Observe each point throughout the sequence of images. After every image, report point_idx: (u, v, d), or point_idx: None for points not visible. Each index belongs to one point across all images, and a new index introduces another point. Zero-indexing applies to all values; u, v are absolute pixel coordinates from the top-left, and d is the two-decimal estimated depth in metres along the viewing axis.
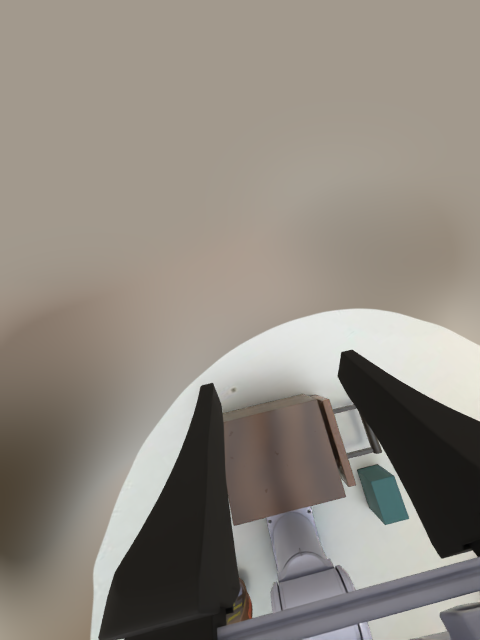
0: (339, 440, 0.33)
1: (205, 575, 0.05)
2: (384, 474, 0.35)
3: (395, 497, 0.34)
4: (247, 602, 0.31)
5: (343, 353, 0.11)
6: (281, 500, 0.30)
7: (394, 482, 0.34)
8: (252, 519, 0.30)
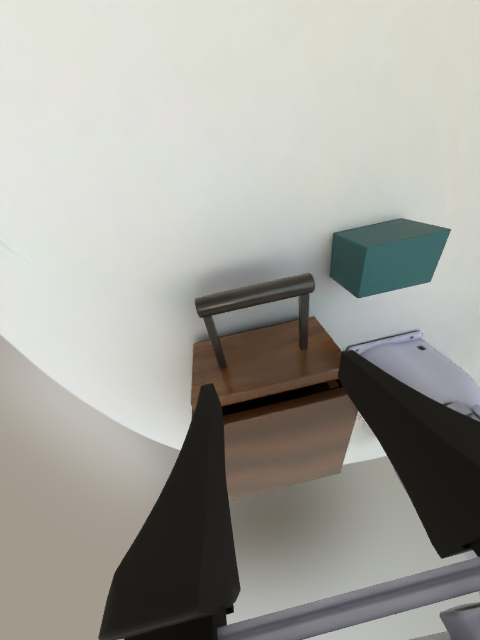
0: (272, 388, 0.16)
1: (205, 575, 0.05)
2: (356, 257, 0.16)
3: (403, 253, 0.15)
4: None
5: (343, 353, 0.11)
6: (333, 449, 0.22)
7: (378, 249, 0.14)
8: (341, 464, 0.24)
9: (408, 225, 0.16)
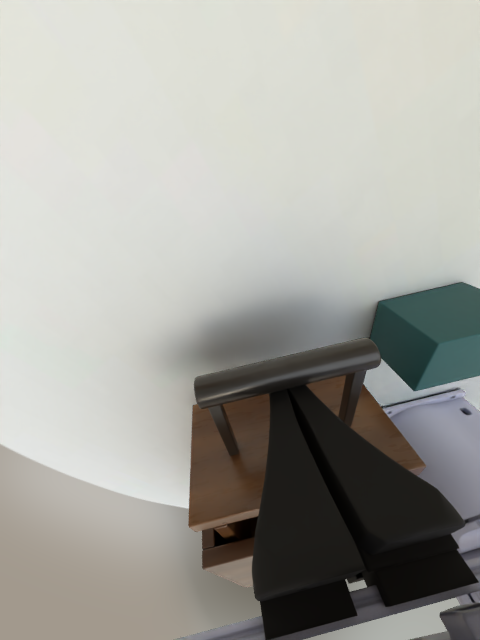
0: None
1: None
2: (416, 345, 0.12)
3: None
4: None
5: None
6: None
7: (452, 344, 0.11)
8: None
9: None
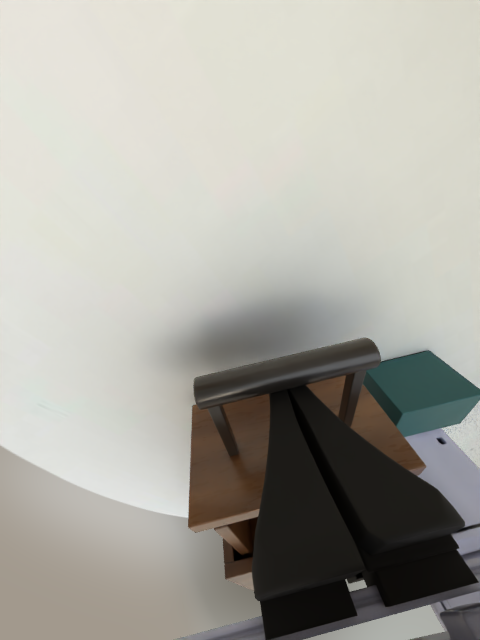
0: None
1: None
2: (388, 409, 0.16)
3: (437, 412, 0.15)
4: None
5: None
6: None
7: (413, 413, 0.15)
8: None
9: (439, 371, 0.16)
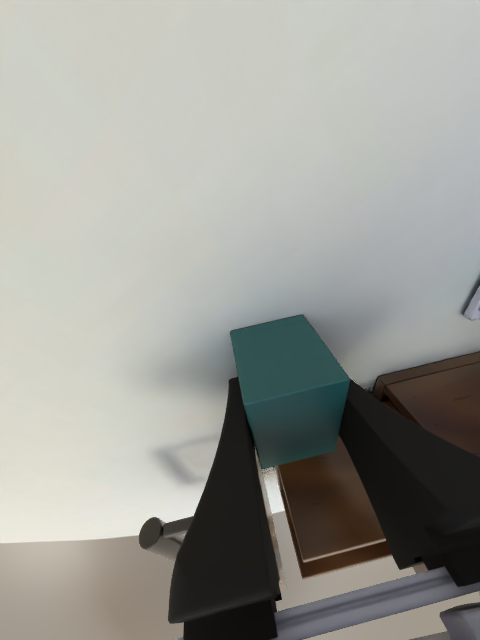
0: None
1: (267, 559, 0.05)
2: None
3: (276, 439, 0.09)
4: None
5: None
6: None
7: (266, 461, 0.10)
8: None
9: None
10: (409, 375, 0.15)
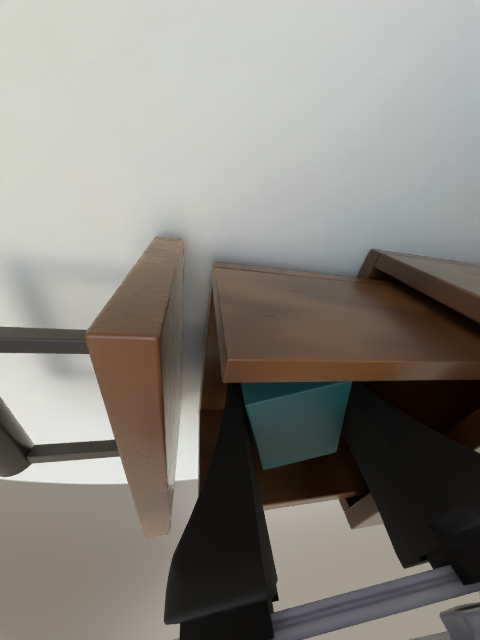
0: (142, 486, 0.07)
1: (263, 560, 0.05)
2: None
3: (277, 440, 0.09)
4: None
5: None
6: None
7: (267, 462, 0.10)
8: None
9: None
10: (407, 255, 0.12)
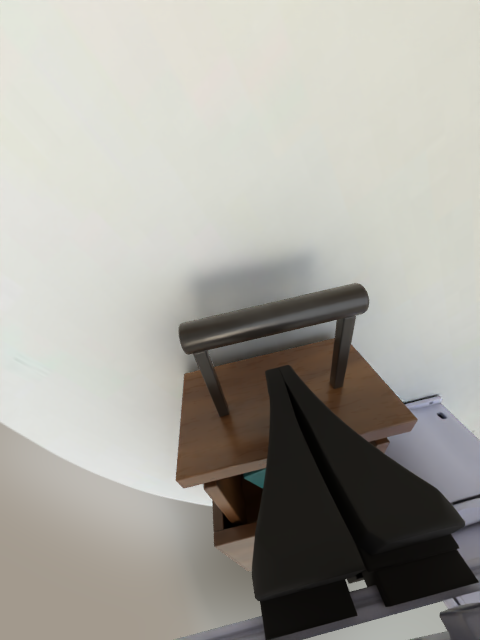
0: None
1: None
2: None
3: None
4: None
5: (278, 369, 0.11)
6: None
7: (256, 475, 0.15)
8: None
9: None
10: None
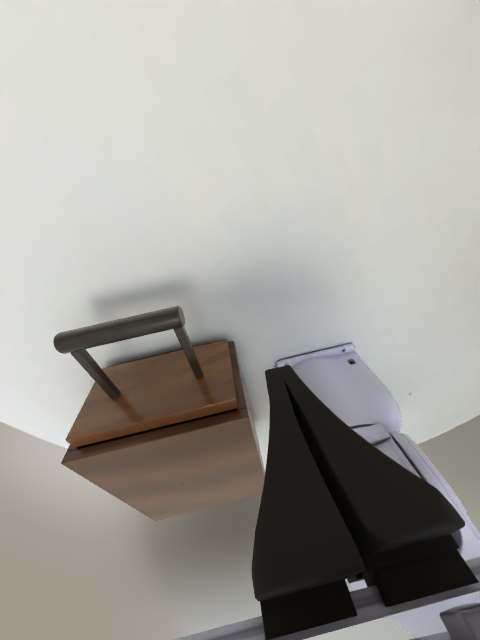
0: (152, 422, 0.15)
1: None
2: None
3: None
4: None
5: (278, 369, 0.11)
6: (247, 471, 0.20)
7: None
8: None
9: None
10: (237, 357, 0.23)
